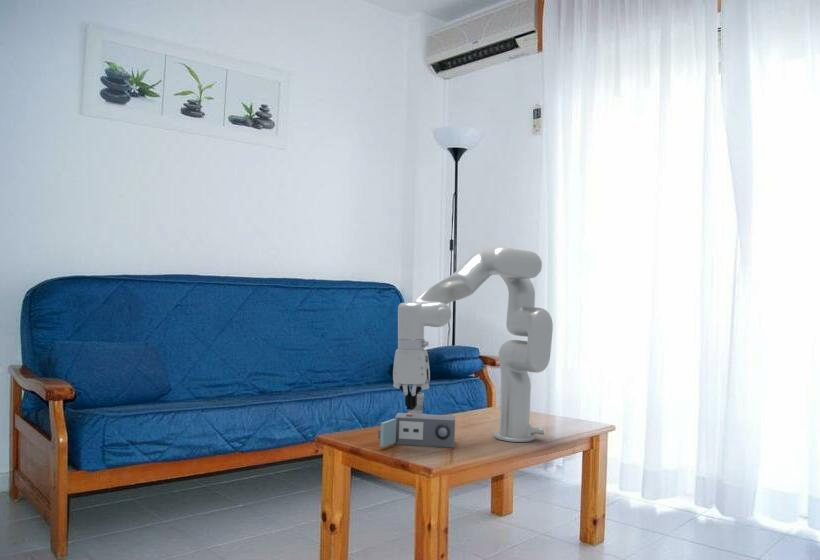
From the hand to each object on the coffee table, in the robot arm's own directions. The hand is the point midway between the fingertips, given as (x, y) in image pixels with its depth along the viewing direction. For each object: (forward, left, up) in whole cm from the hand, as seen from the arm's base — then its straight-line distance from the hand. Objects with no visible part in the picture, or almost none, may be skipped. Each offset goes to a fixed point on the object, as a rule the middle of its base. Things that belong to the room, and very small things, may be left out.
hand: (411, 408), depth 186 cm
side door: (+7, -2, -11) cm, 13 cm away
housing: (-4, -11, -12) cm, 17 cm away
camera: (-2, -31, -12) cm, 34 cm away
